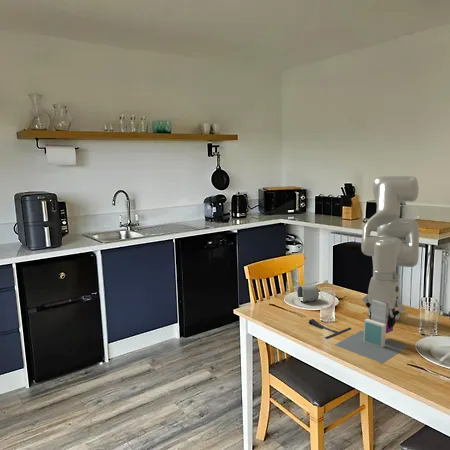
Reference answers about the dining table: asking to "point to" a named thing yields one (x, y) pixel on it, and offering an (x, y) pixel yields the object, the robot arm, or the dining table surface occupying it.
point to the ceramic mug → (308, 292)
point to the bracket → (314, 323)
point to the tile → (374, 332)
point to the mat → (371, 347)
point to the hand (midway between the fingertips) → (382, 323)
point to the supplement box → (380, 313)
